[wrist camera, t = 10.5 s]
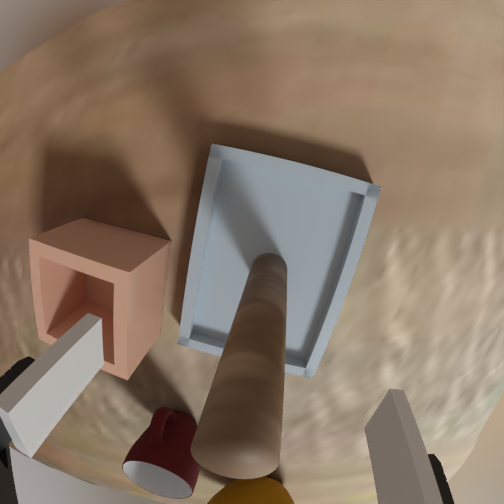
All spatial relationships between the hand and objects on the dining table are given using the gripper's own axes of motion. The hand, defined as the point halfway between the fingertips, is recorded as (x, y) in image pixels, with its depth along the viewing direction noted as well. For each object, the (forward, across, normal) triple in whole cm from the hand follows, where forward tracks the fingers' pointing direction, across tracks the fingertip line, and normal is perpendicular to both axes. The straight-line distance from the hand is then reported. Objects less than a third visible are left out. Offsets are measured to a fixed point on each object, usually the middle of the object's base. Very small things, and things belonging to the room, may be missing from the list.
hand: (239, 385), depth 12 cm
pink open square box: (+15, -14, -5) cm, 21 cm away
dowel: (+14, 0, 0) cm, 14 cm away
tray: (+15, 0, 0) cm, 15 cm away
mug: (+15, -6, -22) cm, 27 cm away
